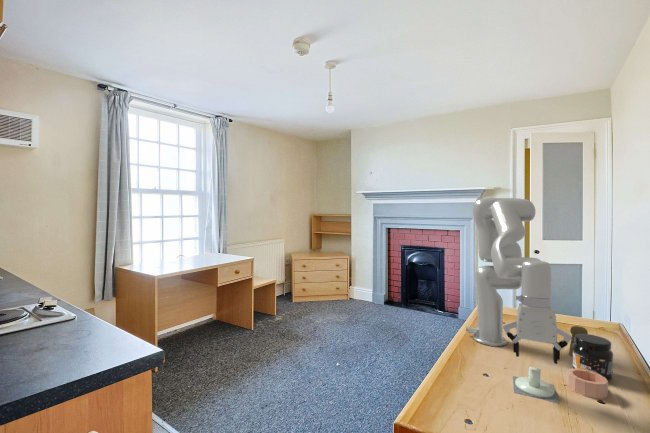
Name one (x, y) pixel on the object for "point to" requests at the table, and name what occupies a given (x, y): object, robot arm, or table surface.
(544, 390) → the lid
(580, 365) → the supplement container
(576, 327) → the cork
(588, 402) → the table surface
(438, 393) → the table surface
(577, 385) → the bowl
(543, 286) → the robot arm
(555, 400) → the mat
